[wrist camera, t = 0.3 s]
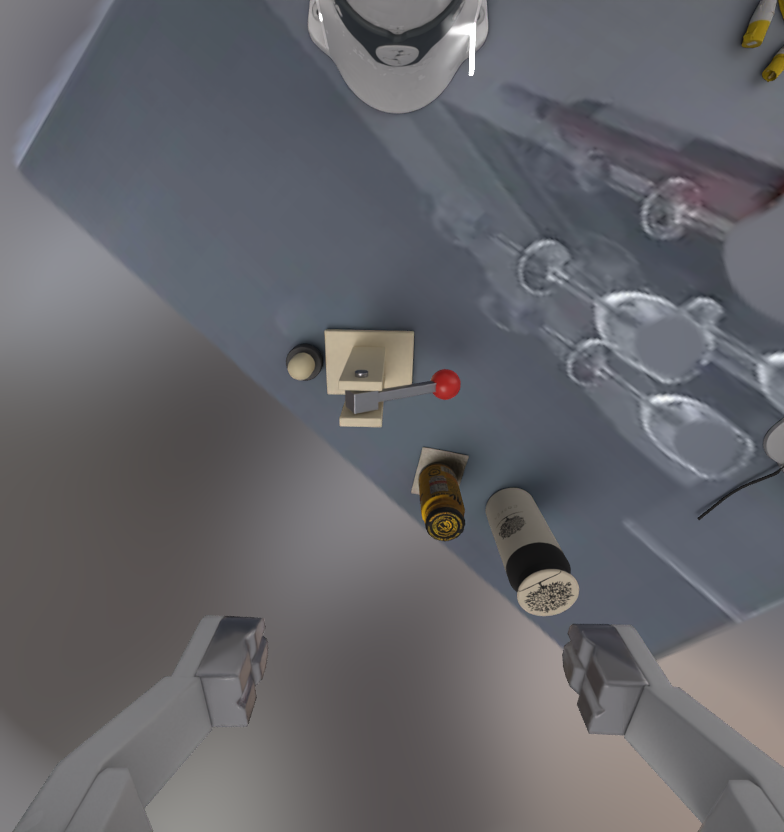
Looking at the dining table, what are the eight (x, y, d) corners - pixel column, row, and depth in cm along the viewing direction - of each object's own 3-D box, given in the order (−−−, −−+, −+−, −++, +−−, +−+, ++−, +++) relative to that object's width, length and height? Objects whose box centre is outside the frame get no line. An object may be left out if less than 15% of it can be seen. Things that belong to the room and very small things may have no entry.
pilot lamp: (287, 343, 55) (277, 352, 50) (322, 344, 55) (315, 353, 50) (290, 376, 57) (280, 388, 52) (323, 377, 57) (317, 389, 52)
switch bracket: (413, 331, 54) (421, 363, 39) (411, 393, 58) (417, 445, 42) (326, 329, 54) (298, 360, 39) (328, 391, 58) (304, 442, 42)
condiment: (410, 492, 64) (414, 542, 53) (422, 446, 61) (429, 489, 50) (454, 499, 65) (466, 551, 54) (468, 455, 62) (484, 499, 50)
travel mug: (540, 516, 66) (589, 606, 49) (494, 533, 67) (527, 625, 51) (524, 479, 63) (571, 561, 47) (478, 497, 64) (507, 583, 48)
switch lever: (449, 364, 49) (468, 371, 46) (447, 392, 50) (465, 401, 47) (342, 379, 42) (356, 389, 39) (343, 410, 44) (357, 422, 41)
